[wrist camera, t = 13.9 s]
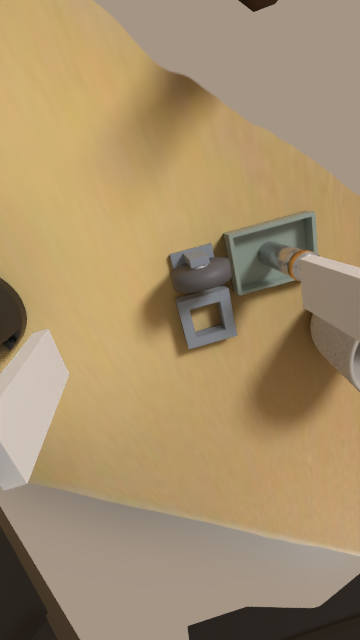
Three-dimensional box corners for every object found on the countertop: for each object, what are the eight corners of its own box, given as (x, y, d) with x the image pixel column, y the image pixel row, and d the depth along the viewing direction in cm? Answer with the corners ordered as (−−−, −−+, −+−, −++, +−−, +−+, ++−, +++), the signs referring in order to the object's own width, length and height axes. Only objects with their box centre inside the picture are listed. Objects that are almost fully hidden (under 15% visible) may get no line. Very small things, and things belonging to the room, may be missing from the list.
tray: (233, 291, 52) (239, 296, 49) (223, 233, 48) (228, 235, 46) (309, 270, 53) (318, 273, 50) (304, 211, 49) (315, 211, 46)
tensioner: (186, 343, 55) (197, 371, 45) (163, 256, 48) (170, 268, 39) (233, 330, 55) (252, 355, 46) (216, 241, 49) (235, 250, 39)
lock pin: (259, 268, 51) (295, 286, 40) (256, 244, 49) (292, 256, 38) (282, 262, 51) (324, 278, 40) (280, 237, 49) (323, 248, 38)
